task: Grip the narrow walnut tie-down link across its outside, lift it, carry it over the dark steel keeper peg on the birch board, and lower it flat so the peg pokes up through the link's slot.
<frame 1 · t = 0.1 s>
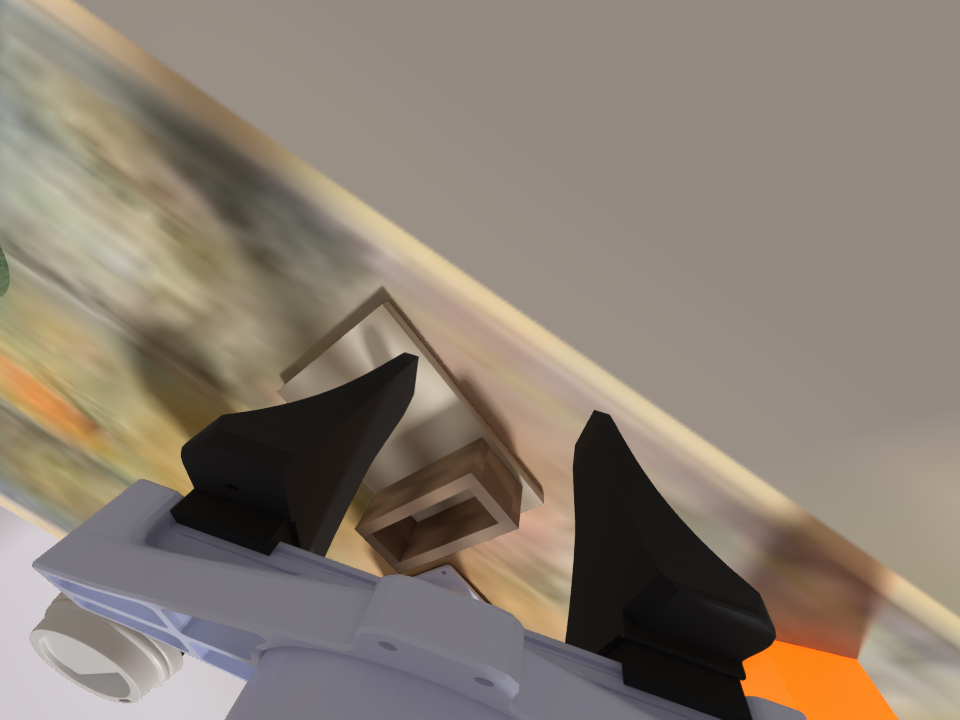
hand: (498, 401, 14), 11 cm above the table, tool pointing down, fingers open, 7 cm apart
orange juice: (785, 672, 31), on the table
birch board: (412, 439, 29), on the table
coffee cup: (264, 494, 36), on the table
walnut link: (446, 489, 29), point 1 cm above the table, touching birch board
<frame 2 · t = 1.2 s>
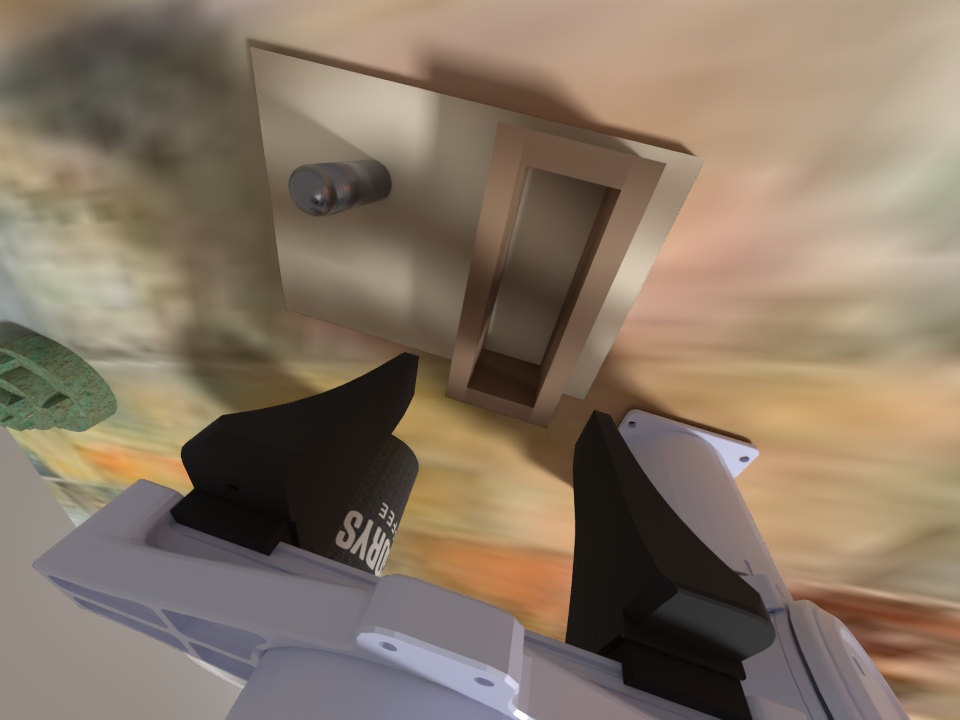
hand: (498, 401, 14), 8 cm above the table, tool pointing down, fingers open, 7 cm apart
birch board: (449, 247, 19), on the table
decorative artifact: (74, 376, 35), on the table
keeper peg: (383, 179, 18), resting on birch board
coffee cup: (384, 456, 30), on the table
walnut link: (536, 278, 17), point 1 cm above the table, touching birch board
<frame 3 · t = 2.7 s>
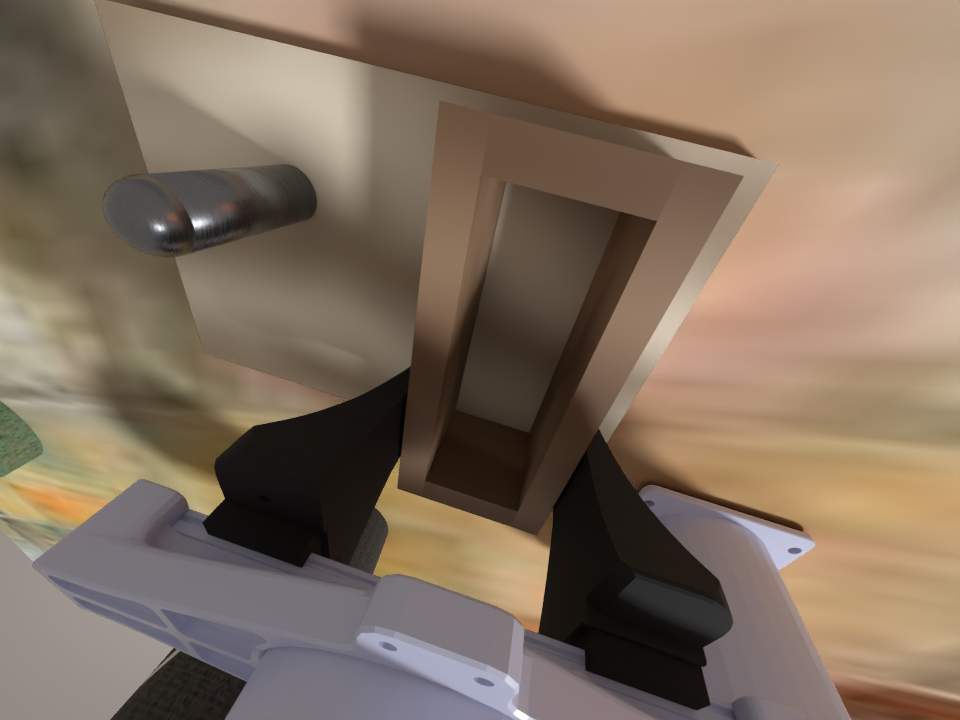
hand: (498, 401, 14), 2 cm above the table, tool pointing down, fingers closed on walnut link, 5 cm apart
birch board: (406, 281, 14), on the table
keeper peg: (311, 190, 13), resting on birch board
coffee cup: (348, 514, 25), on the table
walnut link: (521, 327, 13), point 1 cm above the table, touching birch board, gripper
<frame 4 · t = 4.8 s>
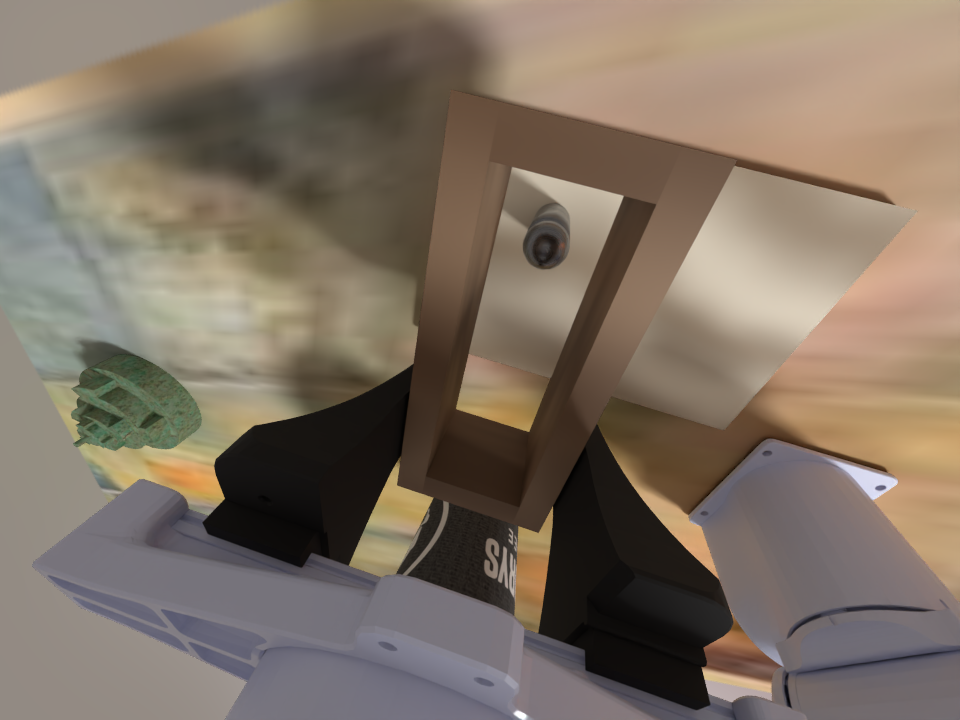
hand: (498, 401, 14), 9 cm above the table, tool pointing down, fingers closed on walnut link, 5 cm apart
birch board: (607, 284, 19), on the table
decorative artifact: (159, 394, 35), on the table
keeper peg: (552, 219, 18), resting on birch board
coffee cup: (484, 476, 30), on the table
walnut link: (522, 323, 13), point 8 cm above the table, touching gripper
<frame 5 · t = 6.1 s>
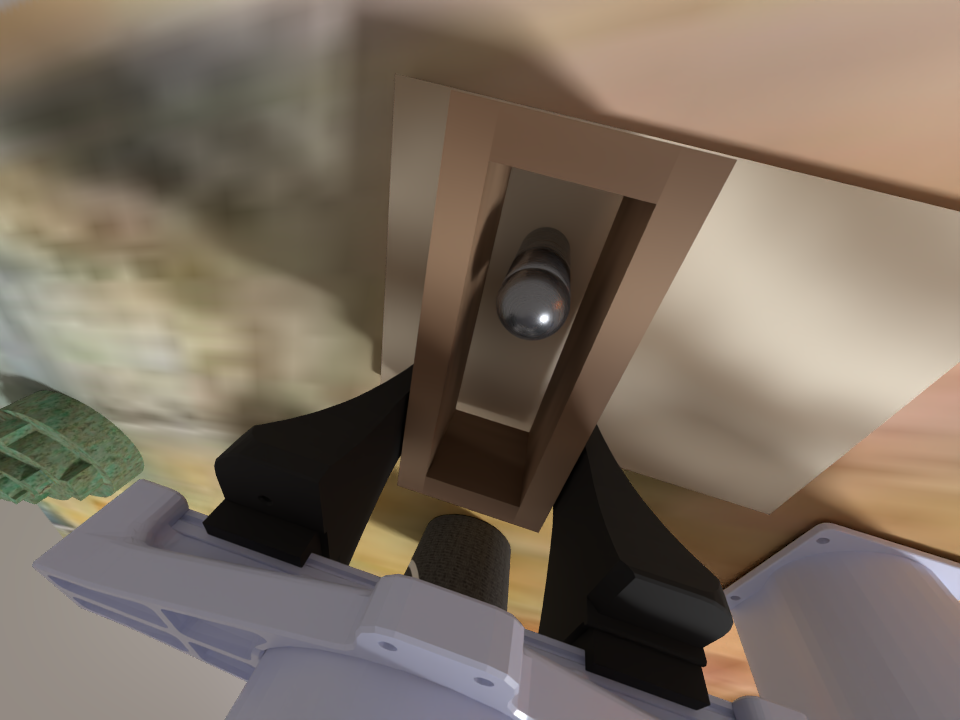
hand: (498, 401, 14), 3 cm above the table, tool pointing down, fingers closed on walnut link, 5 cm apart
birch board: (620, 331, 14), on the table
decorative artifact: (94, 433, 30), on the table
keeper peg: (546, 246, 13), resting on birch board
coffee cup: (468, 539, 26), on the table
walnut link: (522, 323, 13), point 2 cm above the table, touching gripper
when the fingers open (3 cm above the table, at t = 7.1 s): walnut link stays where it is, resting on birch board.
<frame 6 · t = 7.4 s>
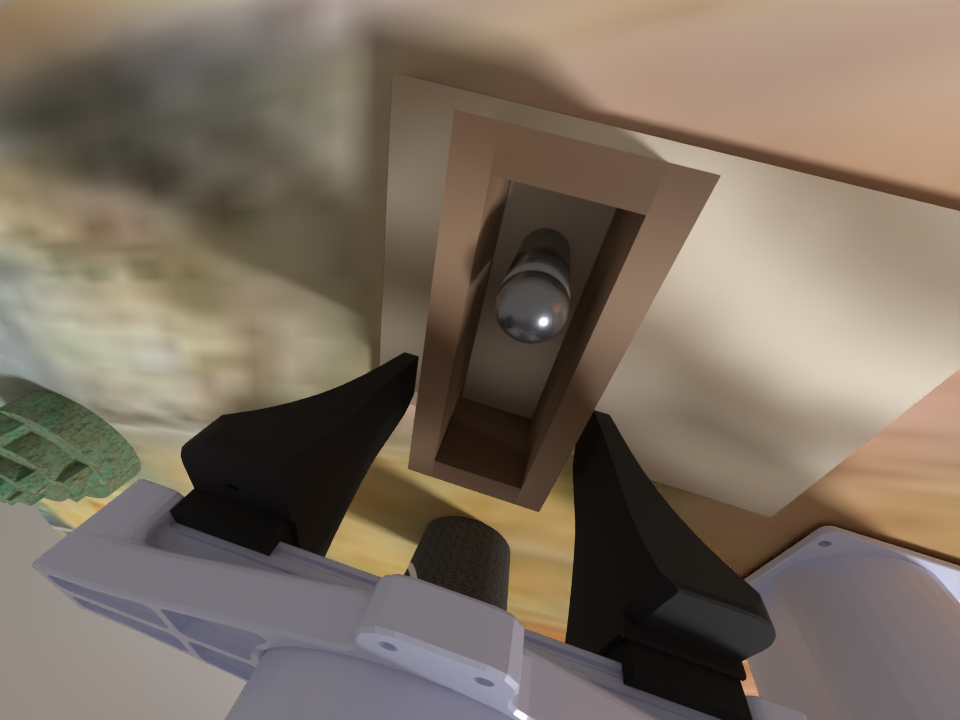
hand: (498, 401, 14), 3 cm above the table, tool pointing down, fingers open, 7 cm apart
birch board: (620, 333, 14), on the table
decorative artifact: (91, 434, 30), on the table
keeper peg: (545, 247, 13), resting on birch board
coffee cup: (467, 541, 25), on the table
walnut link: (524, 317, 14), point 1 cm above the table, touching birch board
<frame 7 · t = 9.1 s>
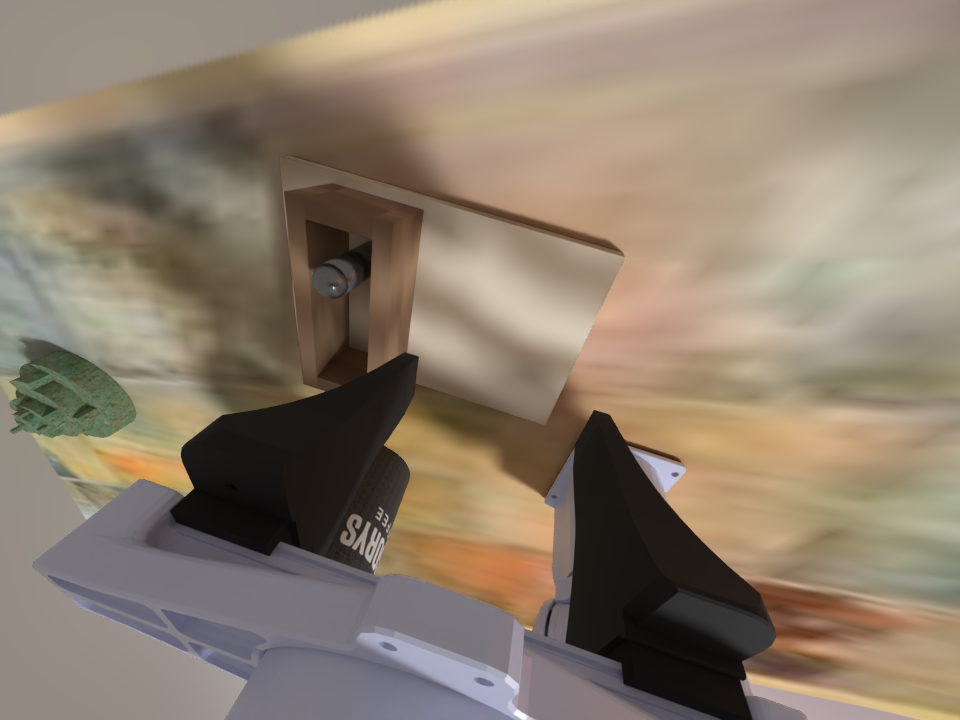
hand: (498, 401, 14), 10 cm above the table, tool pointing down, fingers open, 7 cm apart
birch board: (435, 303, 23), on the table
decorative artifact: (97, 387, 39), on the table
keeper peg: (382, 251, 22), resting on birch board
coffee cup: (380, 465, 34), on the table
walnut link: (373, 292, 23), point 1 cm above the table, touching birch board
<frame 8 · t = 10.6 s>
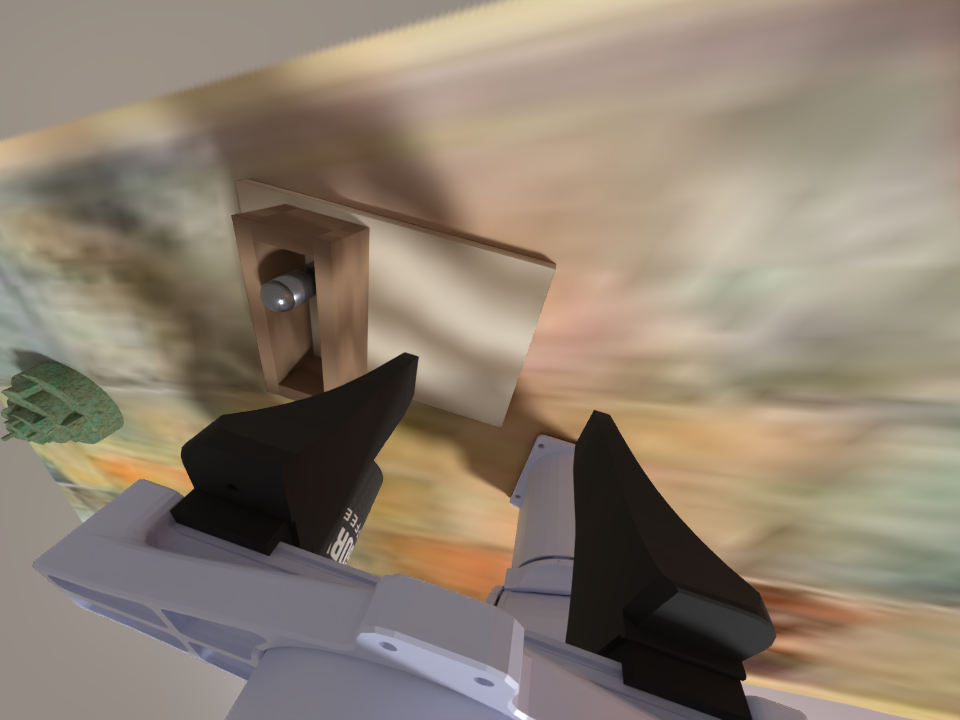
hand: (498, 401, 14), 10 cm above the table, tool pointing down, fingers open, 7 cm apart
birch board: (391, 313, 24), on the table
decorative artifact: (86, 396, 40), on the table
keeper peg: (338, 265, 23), resting on birch board
coffee cup: (355, 467, 36), on the table
walnut link: (331, 304, 24), point 1 cm above the table, touching birch board
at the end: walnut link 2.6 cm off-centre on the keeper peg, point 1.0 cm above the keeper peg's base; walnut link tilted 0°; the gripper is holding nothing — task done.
